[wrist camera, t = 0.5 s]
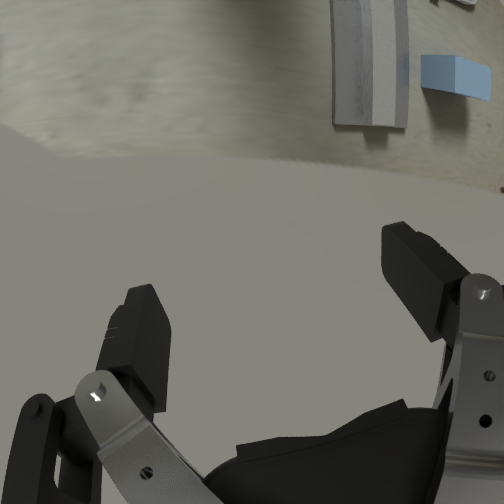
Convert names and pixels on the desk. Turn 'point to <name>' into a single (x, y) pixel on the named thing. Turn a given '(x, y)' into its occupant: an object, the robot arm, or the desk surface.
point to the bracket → (467, 2)
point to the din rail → (353, 63)
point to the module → (456, 76)
